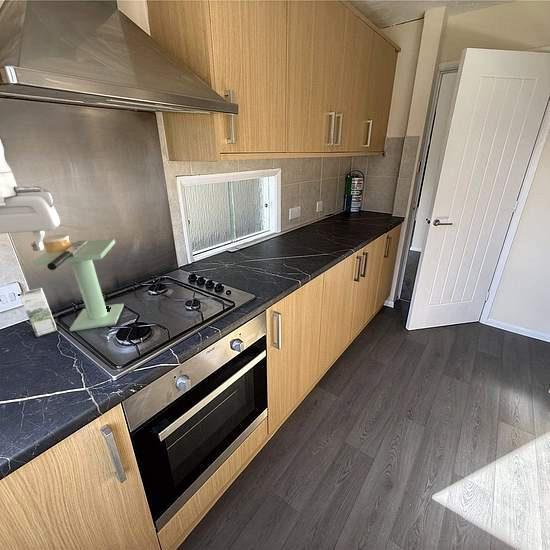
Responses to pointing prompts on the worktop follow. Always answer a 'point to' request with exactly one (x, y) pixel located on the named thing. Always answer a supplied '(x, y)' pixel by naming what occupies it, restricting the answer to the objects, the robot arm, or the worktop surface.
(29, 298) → the syrup box
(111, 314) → the cake stand
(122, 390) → the worktop surface
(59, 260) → the cake knife
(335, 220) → the worktop surface
